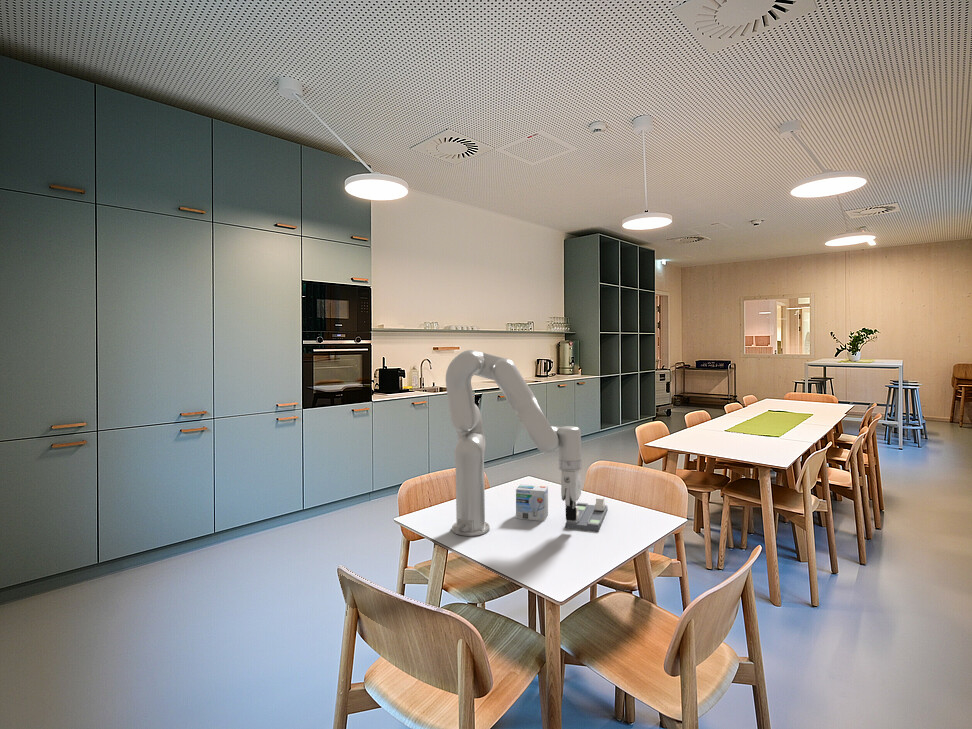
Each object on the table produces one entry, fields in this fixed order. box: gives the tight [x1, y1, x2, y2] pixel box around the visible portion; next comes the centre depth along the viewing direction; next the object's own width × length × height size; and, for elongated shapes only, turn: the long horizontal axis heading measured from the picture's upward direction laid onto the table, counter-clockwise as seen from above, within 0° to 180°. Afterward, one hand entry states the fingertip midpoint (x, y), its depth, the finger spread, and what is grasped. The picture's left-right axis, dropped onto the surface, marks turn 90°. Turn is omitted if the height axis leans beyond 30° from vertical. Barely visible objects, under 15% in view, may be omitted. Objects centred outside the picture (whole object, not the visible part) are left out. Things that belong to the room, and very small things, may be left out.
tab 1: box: [575, 506, 579, 521], centre depth 172 cm, size 4×3×4 cm
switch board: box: [565, 502, 609, 533], centre depth 177 cm, size 23×11×2 cm, turn 159°
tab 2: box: [594, 496, 606, 511], centre depth 182 cm, size 4×3×4 cm
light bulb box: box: [515, 484, 549, 522], centre depth 180 cm, size 11×7×11 cm, turn 73°
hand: (571, 519), depth 165 cm, fingers closed
